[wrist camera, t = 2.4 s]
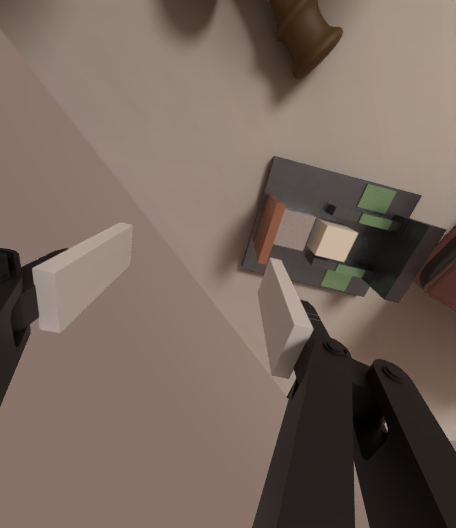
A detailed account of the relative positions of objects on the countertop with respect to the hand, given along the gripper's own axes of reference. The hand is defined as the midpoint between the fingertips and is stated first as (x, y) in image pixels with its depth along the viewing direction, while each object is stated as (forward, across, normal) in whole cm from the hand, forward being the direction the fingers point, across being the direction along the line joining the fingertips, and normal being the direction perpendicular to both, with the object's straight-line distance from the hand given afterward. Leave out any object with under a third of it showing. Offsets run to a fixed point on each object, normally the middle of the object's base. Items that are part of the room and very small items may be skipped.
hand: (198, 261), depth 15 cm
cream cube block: (+18, +16, 0) cm, 24 cm away
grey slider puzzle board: (+19, +16, 0) cm, 25 cm away
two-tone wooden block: (+18, +9, 0) cm, 20 cm away
